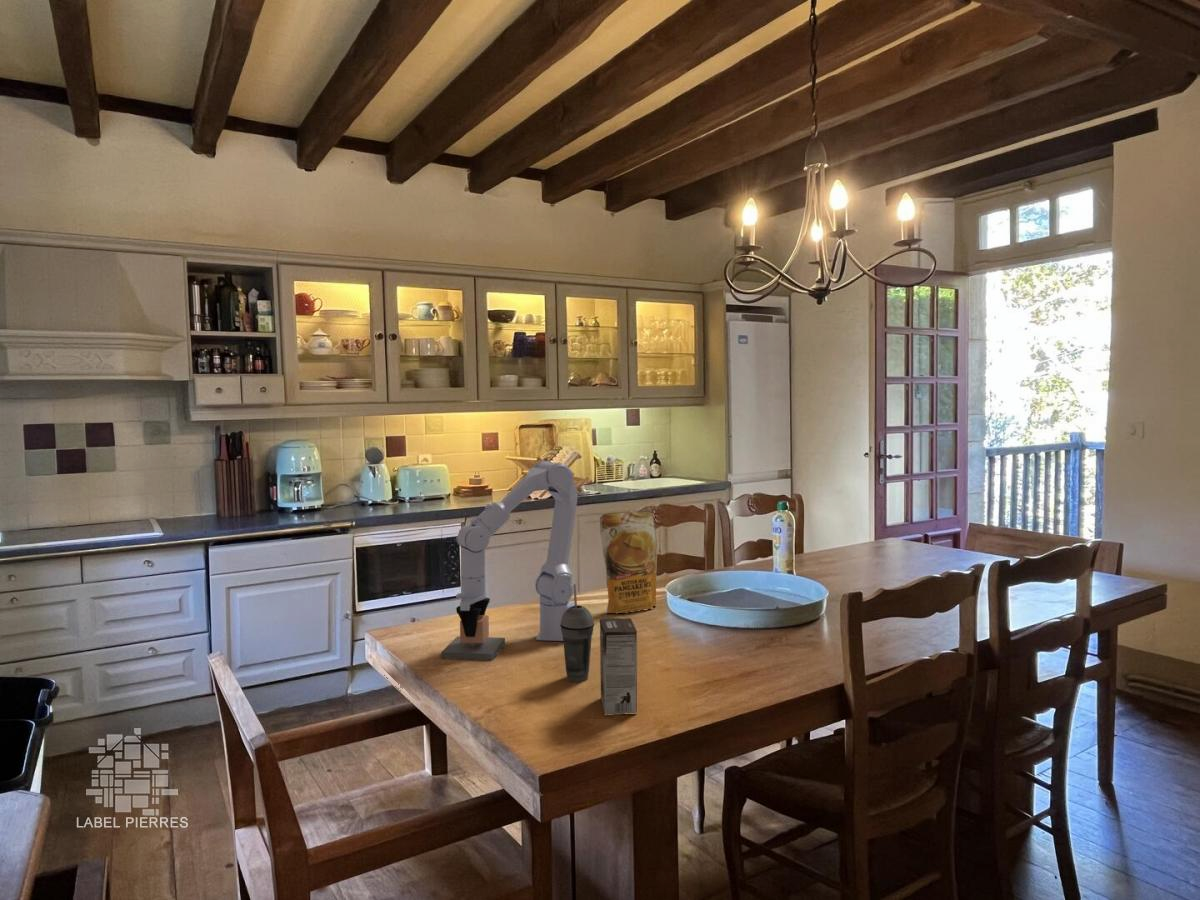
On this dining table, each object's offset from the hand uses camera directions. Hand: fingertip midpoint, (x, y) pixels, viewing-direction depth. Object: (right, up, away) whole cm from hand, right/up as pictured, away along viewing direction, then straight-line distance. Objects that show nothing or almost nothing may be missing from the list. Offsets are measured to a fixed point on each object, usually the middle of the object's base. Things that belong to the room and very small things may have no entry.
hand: (473, 632), depth 179 cm
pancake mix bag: (+38, -2, +36) cm, 53 cm away
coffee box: (+33, -7, -33) cm, 47 cm away
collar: (0, -2, 0) cm, 2 cm away
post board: (0, -4, 0) cm, 4 cm away
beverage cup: (+25, -6, -18) cm, 31 cm away
